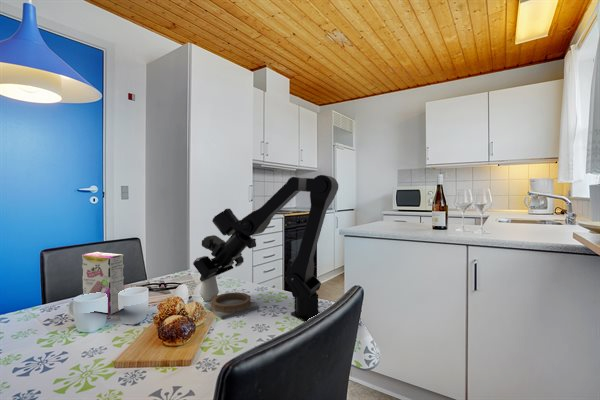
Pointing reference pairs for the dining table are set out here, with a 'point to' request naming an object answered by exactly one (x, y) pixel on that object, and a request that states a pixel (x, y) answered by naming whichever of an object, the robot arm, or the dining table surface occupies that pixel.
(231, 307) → the stand
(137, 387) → the dining table surface
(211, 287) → the salt shaker
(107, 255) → the candy bar box
